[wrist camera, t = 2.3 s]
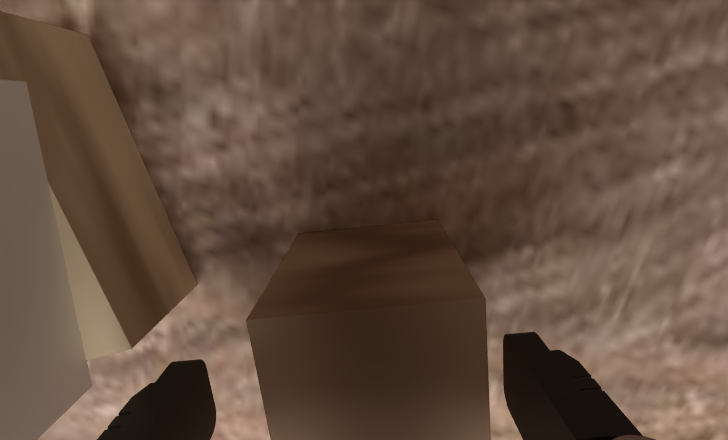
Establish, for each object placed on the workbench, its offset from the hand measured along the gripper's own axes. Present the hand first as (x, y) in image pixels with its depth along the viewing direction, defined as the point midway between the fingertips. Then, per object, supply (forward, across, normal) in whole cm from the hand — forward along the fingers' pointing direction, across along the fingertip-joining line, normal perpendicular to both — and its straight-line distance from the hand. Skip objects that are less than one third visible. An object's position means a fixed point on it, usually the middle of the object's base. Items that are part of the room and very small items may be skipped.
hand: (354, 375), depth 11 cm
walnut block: (+6, -1, 0) cm, 6 cm away
